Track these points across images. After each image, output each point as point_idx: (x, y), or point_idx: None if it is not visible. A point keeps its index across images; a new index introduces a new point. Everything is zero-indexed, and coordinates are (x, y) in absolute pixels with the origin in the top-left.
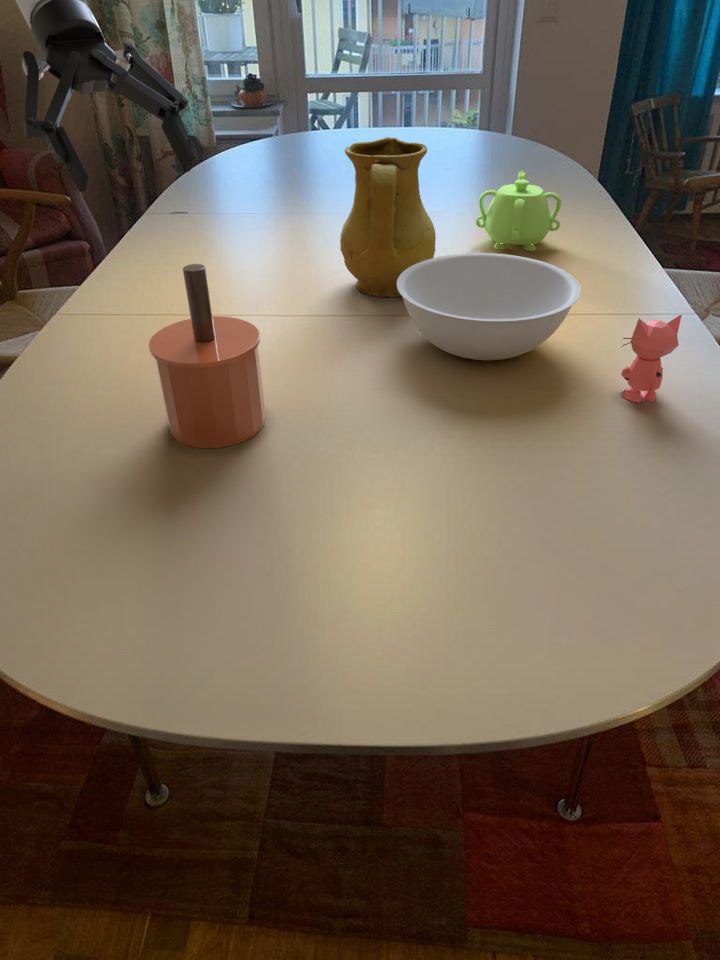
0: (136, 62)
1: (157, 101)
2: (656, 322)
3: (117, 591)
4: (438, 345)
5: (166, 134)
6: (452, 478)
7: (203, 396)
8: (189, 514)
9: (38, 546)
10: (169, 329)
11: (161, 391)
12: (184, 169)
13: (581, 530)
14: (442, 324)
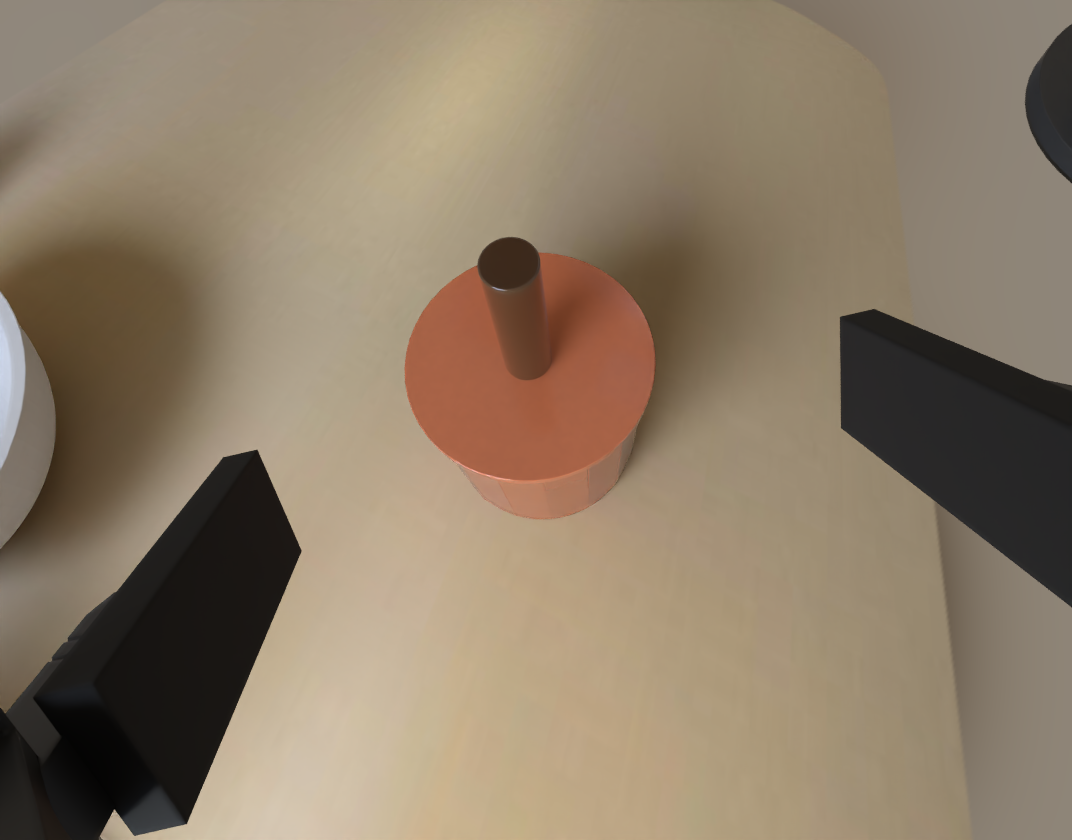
0: None
1: (35, 821)
2: None
3: (766, 134)
4: (55, 432)
5: (212, 732)
6: (308, 164)
7: None
8: (654, 224)
9: (863, 239)
10: (589, 441)
11: (636, 428)
12: (294, 544)
13: (257, 47)
14: (32, 360)
